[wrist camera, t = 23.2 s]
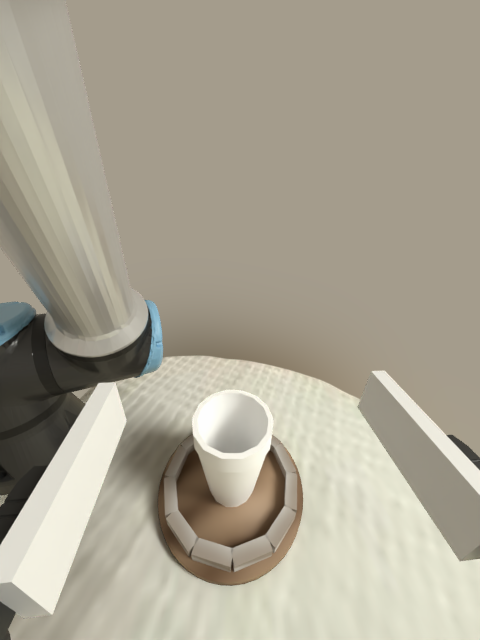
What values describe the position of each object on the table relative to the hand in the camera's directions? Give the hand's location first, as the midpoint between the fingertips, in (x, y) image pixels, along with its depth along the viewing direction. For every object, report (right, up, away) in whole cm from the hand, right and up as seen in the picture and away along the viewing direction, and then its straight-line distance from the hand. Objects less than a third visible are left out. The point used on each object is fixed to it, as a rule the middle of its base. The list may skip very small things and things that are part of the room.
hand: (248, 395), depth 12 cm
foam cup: (-2, -19, +21) cm, 29 cm away
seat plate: (-2, -20, +22) cm, 29 cm away
